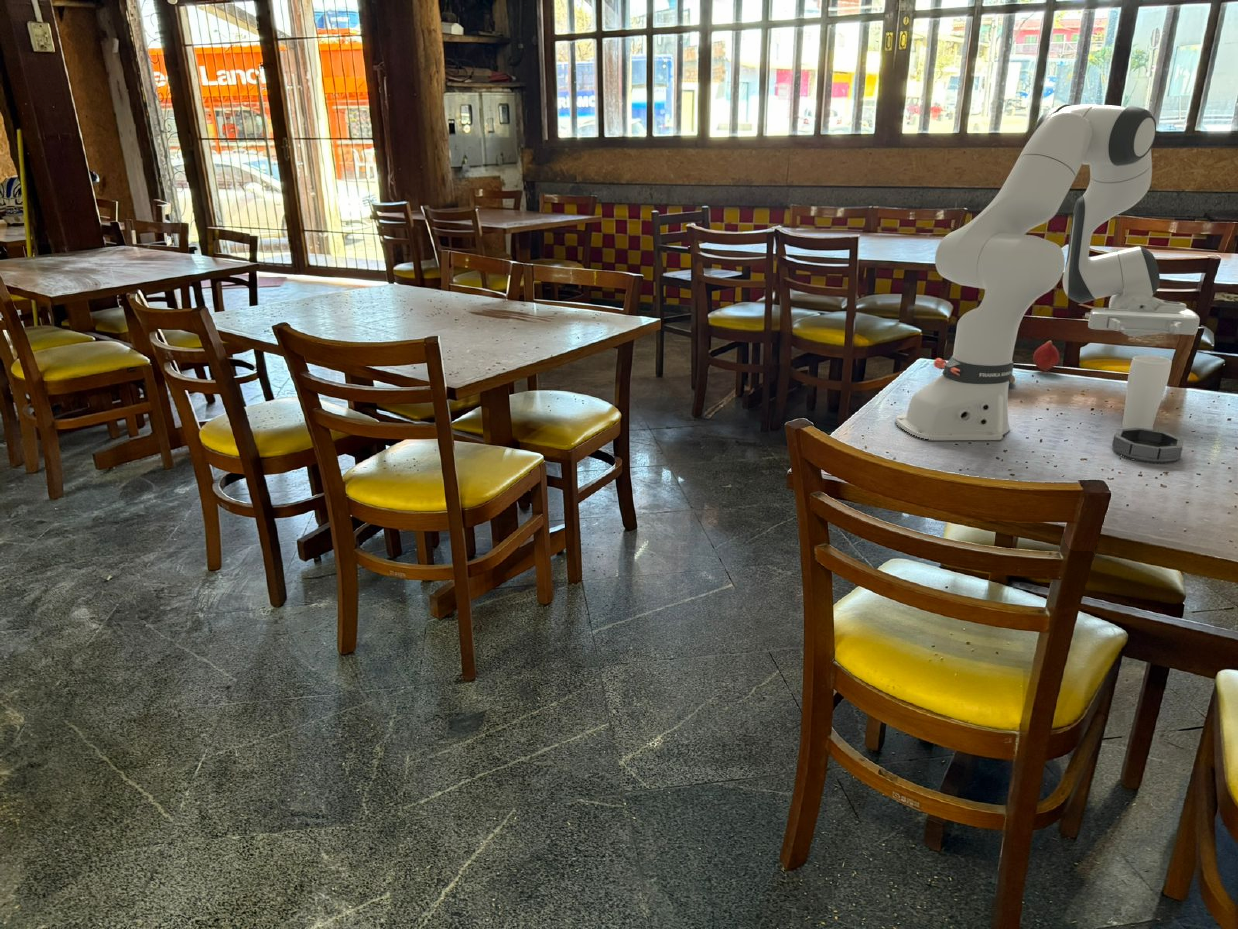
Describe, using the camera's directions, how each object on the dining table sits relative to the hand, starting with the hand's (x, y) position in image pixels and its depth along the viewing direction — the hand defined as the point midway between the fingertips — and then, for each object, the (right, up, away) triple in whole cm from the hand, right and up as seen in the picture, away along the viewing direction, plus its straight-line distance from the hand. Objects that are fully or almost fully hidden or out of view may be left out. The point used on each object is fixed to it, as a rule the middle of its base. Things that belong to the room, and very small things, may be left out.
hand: (1147, 328), depth 173 cm
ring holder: (-10, -26, -15) cm, 31 cm away
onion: (-2, -5, +38) cm, 39 cm away
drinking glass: (-5, -21, -4) cm, 22 cm away
